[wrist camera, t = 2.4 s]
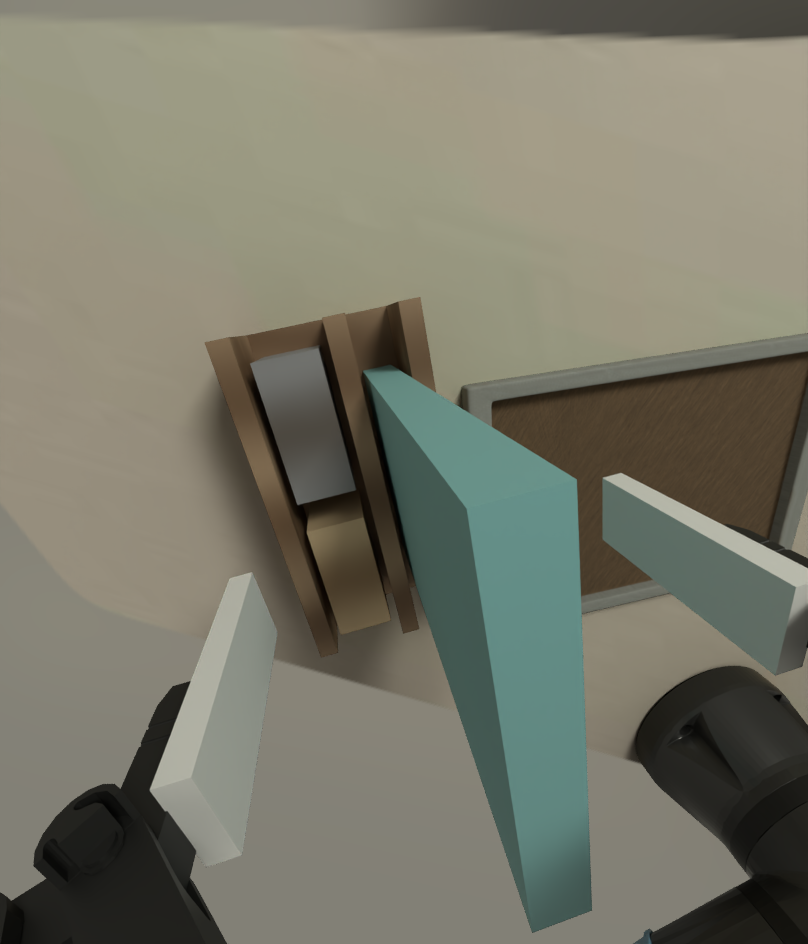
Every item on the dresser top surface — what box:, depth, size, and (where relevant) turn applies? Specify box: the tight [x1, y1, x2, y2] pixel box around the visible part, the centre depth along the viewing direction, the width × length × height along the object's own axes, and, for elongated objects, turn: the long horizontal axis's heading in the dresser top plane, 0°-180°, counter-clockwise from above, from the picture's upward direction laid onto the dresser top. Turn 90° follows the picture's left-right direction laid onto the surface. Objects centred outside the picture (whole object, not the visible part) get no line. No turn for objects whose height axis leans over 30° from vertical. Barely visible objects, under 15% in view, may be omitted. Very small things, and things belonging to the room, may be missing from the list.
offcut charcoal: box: [250, 345, 356, 505], centre depth 20 cm, size 7×3×4 cm, turn 12°
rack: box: [205, 297, 436, 658], centre depth 23 cm, size 18×9×5 cm, turn 12°
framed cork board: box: [462, 333, 808, 614], centre depth 29 cm, size 19×2×30 cm
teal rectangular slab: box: [363, 365, 592, 933], centre depth 16 cm, size 12×2×18 cm, turn 12°
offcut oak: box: [307, 489, 391, 635], centre depth 24 cm, size 7×3×4 cm, turn 12°
